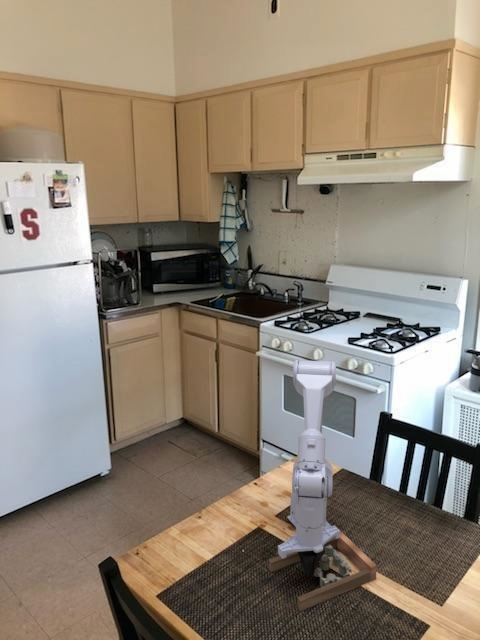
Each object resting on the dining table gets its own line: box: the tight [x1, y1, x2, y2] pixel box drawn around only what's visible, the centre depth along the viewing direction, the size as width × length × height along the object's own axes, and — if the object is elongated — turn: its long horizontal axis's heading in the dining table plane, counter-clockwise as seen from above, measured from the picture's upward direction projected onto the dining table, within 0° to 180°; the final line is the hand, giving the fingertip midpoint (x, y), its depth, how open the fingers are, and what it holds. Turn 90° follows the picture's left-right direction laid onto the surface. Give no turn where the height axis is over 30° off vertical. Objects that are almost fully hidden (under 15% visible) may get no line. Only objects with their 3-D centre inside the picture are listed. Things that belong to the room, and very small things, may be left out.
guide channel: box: [267, 530, 378, 612], centre depth 115 cm, size 13×20×4 cm
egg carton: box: [313, 545, 353, 588], centre depth 116 cm, size 11×8×4 cm
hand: (308, 573), depth 114 cm, fingers closed
